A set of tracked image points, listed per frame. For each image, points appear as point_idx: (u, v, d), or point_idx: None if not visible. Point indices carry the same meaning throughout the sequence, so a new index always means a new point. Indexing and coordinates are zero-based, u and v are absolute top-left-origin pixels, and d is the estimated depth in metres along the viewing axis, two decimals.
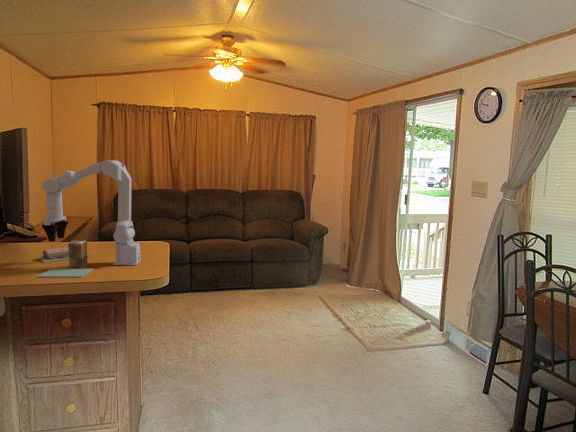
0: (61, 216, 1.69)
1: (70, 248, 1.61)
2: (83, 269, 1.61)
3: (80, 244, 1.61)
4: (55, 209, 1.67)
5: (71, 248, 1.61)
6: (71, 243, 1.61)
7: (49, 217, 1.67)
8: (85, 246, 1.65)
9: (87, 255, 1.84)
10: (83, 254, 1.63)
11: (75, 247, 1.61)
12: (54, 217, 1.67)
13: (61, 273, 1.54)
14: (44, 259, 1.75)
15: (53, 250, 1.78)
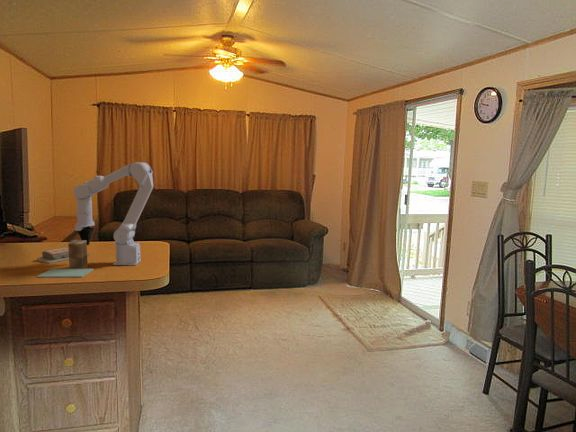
0: (91, 221, 1.70)
1: (70, 248, 1.61)
2: (83, 269, 1.61)
3: (80, 244, 1.61)
4: (85, 215, 1.68)
5: (71, 248, 1.61)
6: (71, 243, 1.61)
7: (79, 223, 1.68)
8: (85, 246, 1.65)
9: (87, 254, 1.86)
10: (83, 254, 1.63)
11: (75, 247, 1.61)
12: (84, 223, 1.68)
13: (61, 273, 1.54)
14: (47, 260, 1.73)
15: (54, 250, 1.77)
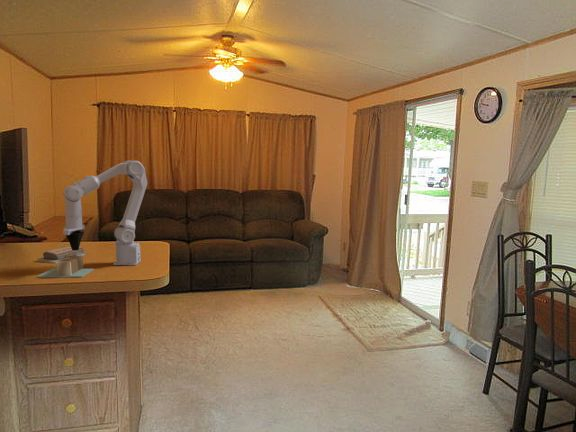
0: (80, 225, 1.60)
1: None
2: (83, 269, 1.61)
3: (70, 274, 1.53)
4: (74, 218, 1.58)
5: None
6: (60, 274, 1.52)
7: (68, 226, 1.58)
8: (73, 263, 1.54)
9: (85, 253, 1.88)
10: (76, 267, 1.57)
11: None
12: (73, 226, 1.58)
13: None
14: (51, 260, 1.73)
15: (56, 251, 1.77)
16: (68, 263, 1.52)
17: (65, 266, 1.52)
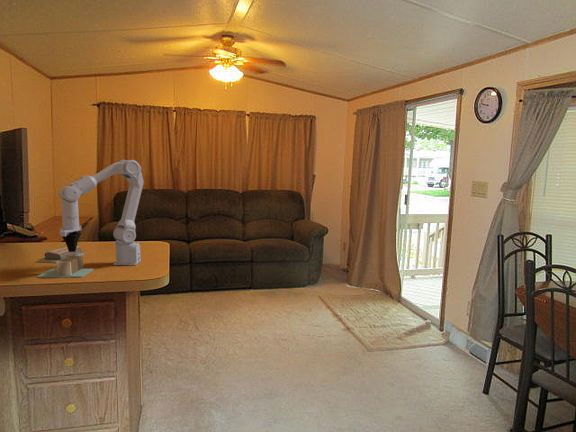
0: (77, 226, 1.57)
1: None
2: (83, 269, 1.61)
3: (70, 274, 1.53)
4: (71, 219, 1.55)
5: None
6: (60, 274, 1.52)
7: (65, 227, 1.55)
8: (73, 263, 1.54)
9: None
10: (76, 267, 1.57)
11: None
12: (70, 227, 1.55)
13: None
14: (54, 260, 1.73)
15: (57, 251, 1.77)
16: (68, 263, 1.52)
17: (65, 266, 1.52)
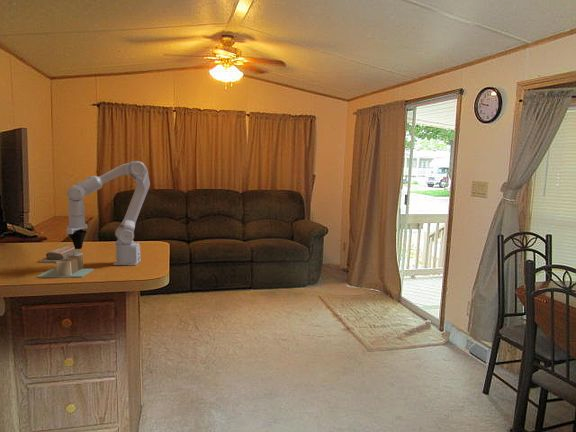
0: (83, 224, 1.63)
1: None
2: (83, 269, 1.61)
3: (70, 274, 1.53)
4: (77, 217, 1.60)
5: None
6: (60, 274, 1.52)
7: (71, 225, 1.60)
8: (73, 263, 1.54)
9: (82, 252, 1.90)
10: (76, 267, 1.57)
11: None
12: (76, 225, 1.60)
13: None
14: (57, 260, 1.73)
15: (58, 251, 1.77)
16: (68, 263, 1.52)
17: (65, 266, 1.52)
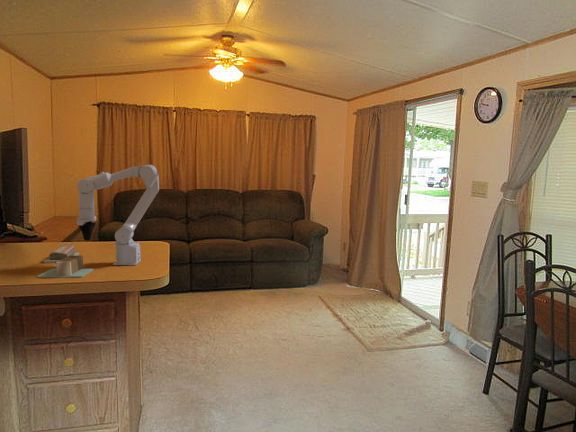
0: (93, 216, 1.68)
1: None
2: (83, 269, 1.61)
3: (70, 274, 1.53)
4: (87, 209, 1.66)
5: None
6: (60, 274, 1.52)
7: (81, 217, 1.66)
8: (73, 263, 1.54)
9: (78, 252, 1.90)
10: (76, 267, 1.57)
11: None
12: (86, 217, 1.66)
13: None
14: None
15: (61, 251, 1.77)
16: (68, 263, 1.52)
17: (65, 266, 1.52)
